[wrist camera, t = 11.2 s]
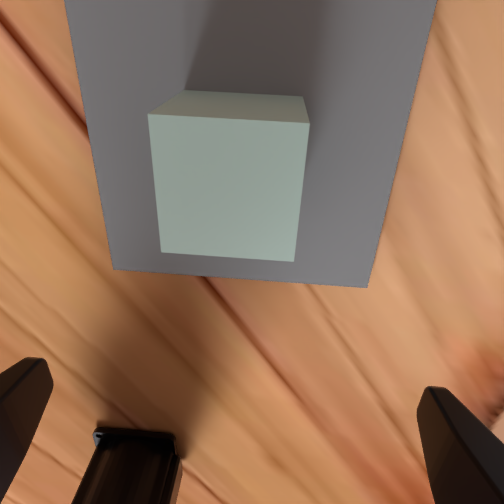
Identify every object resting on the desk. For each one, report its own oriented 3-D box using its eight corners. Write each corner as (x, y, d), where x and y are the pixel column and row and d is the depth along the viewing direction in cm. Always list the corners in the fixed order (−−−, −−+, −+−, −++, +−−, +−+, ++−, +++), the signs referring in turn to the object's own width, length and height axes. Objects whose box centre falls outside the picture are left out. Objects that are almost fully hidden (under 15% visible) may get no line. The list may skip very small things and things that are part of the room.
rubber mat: (118, 261, 22) (113, 269, 21) (66, -46, 15) (55, -49, 14) (364, 279, 21) (367, 288, 20) (437, -32, 14) (445, -35, 13)
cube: (189, 199, 19) (161, 252, 14) (184, 90, 16) (147, 114, 12) (291, 206, 18) (293, 261, 14) (302, 96, 16) (309, 123, 11)
